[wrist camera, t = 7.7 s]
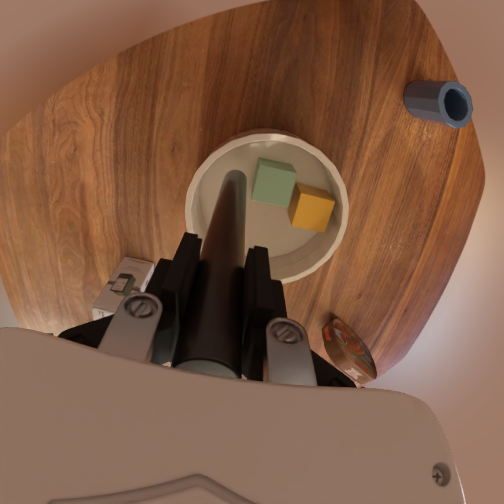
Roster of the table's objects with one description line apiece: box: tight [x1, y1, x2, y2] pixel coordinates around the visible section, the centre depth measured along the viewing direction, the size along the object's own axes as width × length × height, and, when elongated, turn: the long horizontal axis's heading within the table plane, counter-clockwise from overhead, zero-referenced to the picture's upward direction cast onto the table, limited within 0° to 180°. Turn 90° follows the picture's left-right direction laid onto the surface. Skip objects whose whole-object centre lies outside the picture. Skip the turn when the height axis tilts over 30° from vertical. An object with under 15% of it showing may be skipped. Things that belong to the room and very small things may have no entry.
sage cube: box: [251, 157, 297, 207], centre depth 32 cm, size 4×4×4 cm
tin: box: [322, 318, 377, 384], centre depth 44 cm, size 15×3×8 cm, turn 43°
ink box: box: [92, 257, 154, 320], centre depth 37 cm, size 9×5×12 cm, turn 167°
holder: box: [404, 80, 473, 128], centre depth 25 cm, size 5×5×8 cm
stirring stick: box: [171, 170, 247, 379], centre depth 16 cm, size 2×2×20 cm
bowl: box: [184, 128, 349, 284], centre depth 33 cm, size 17×17×6 cm
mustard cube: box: [287, 183, 335, 233], centre depth 33 cm, size 4×4×4 cm
